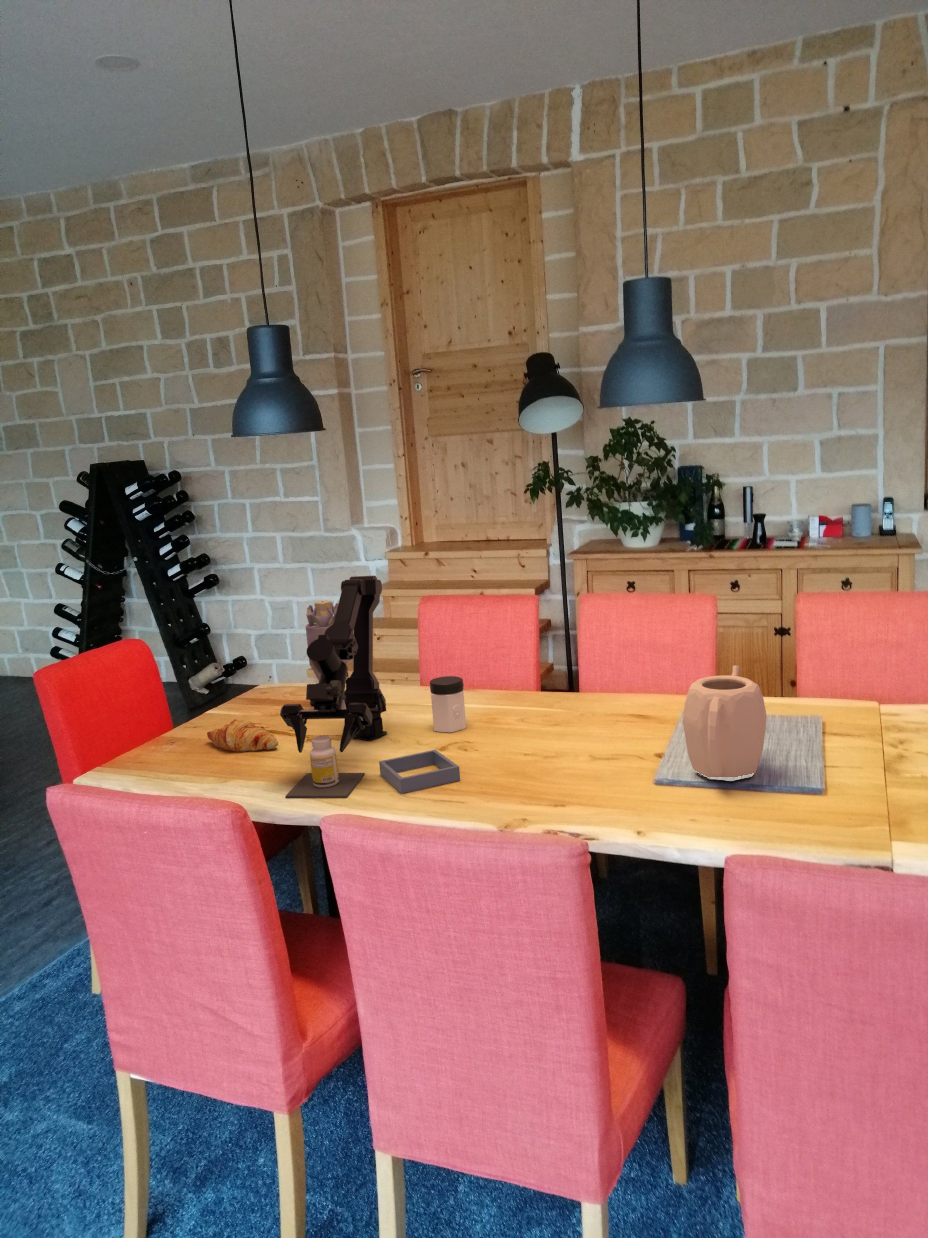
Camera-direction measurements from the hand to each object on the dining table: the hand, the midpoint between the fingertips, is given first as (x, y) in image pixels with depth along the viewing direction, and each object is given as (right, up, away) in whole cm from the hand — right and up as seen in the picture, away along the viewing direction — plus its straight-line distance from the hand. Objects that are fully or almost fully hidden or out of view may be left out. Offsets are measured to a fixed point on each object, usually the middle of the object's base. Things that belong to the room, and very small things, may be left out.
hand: (320, 751), depth 192 cm
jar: (+26, 0, +37) cm, 45 cm away
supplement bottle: (+1, -7, +3) cm, 8 cm away
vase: (-6, +3, +61) cm, 61 cm away
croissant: (-24, -4, +33) cm, 41 cm away
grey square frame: (+20, -6, +4) cm, 22 cm away
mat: (+1, -8, +3) cm, 8 cm away
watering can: (+82, -3, -5) cm, 83 cm away
